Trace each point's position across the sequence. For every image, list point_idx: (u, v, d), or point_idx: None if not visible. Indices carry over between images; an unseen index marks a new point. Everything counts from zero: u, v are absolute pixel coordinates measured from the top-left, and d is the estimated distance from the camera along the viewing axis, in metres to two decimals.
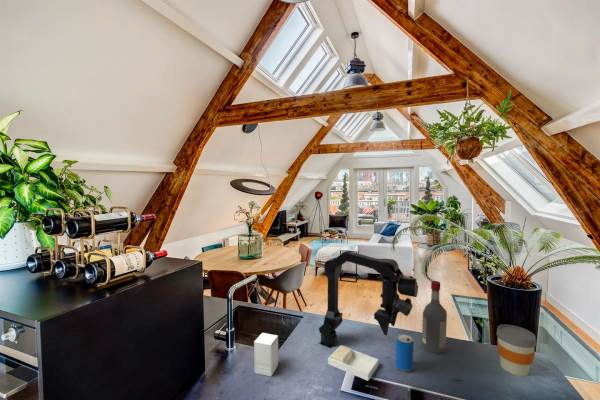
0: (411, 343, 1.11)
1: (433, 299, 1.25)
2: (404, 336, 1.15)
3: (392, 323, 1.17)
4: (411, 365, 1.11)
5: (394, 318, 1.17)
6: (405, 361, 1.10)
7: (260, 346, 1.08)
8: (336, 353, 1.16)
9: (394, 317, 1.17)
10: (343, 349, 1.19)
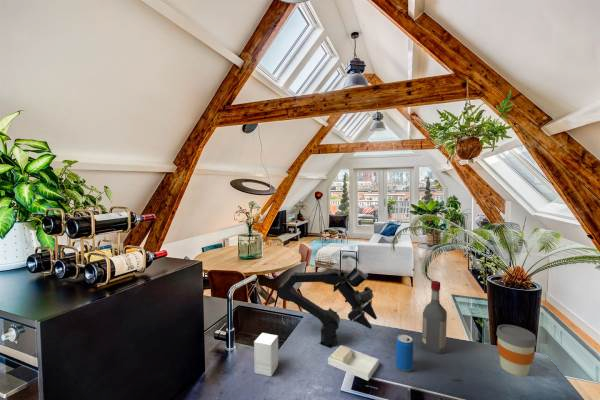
0: (411, 343, 1.11)
1: (433, 299, 1.25)
2: (404, 336, 1.15)
3: (374, 317, 1.26)
4: (411, 365, 1.11)
5: (372, 312, 1.26)
6: (405, 361, 1.10)
7: (260, 346, 1.08)
8: (336, 353, 1.16)
9: (371, 311, 1.26)
10: (343, 349, 1.19)
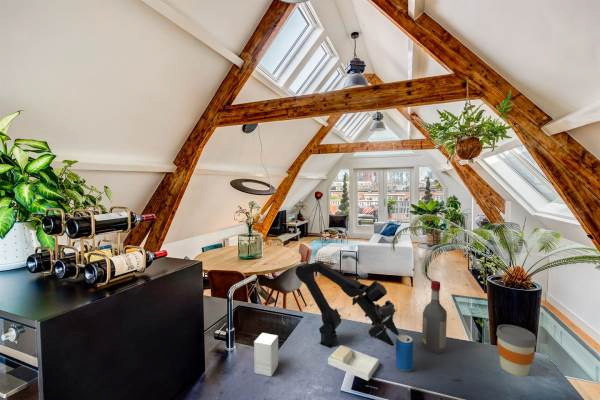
0: (411, 343, 1.11)
1: (433, 299, 1.25)
2: (404, 336, 1.15)
3: (396, 333, 1.19)
4: (411, 365, 1.11)
5: (393, 327, 1.19)
6: (405, 361, 1.10)
7: (260, 346, 1.08)
8: (336, 353, 1.16)
9: (393, 326, 1.20)
10: (343, 349, 1.19)
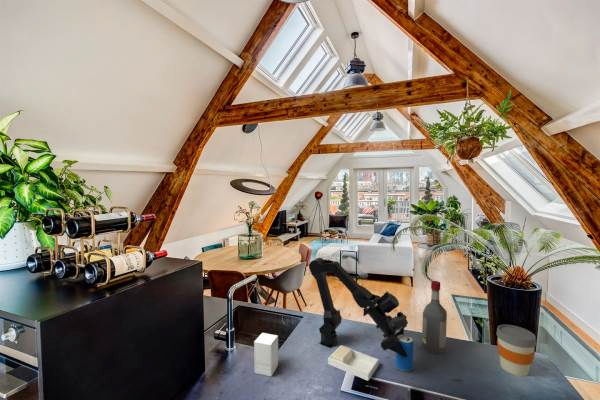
0: (411, 343, 1.11)
1: (433, 299, 1.25)
2: (404, 336, 1.15)
3: None
4: (411, 365, 1.11)
5: None
6: (405, 361, 1.10)
7: (260, 346, 1.08)
8: (336, 353, 1.16)
9: None
10: (343, 349, 1.19)
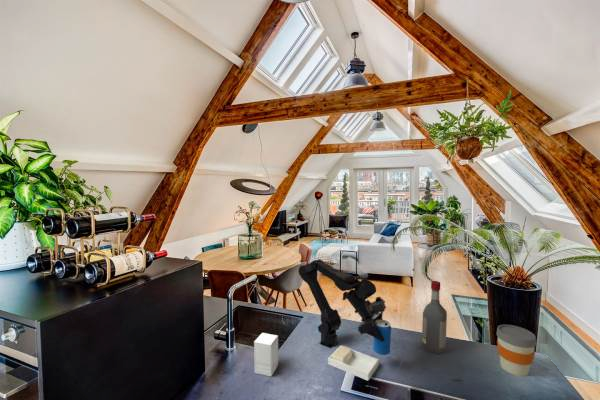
0: (389, 327, 1.10)
1: (433, 299, 1.25)
2: (382, 321, 1.14)
3: None
4: (388, 349, 1.11)
5: None
6: (382, 345, 1.10)
7: (260, 346, 1.08)
8: (336, 353, 1.16)
9: None
10: (343, 349, 1.19)
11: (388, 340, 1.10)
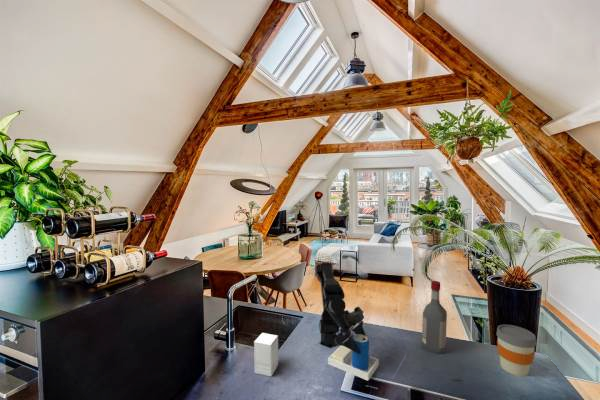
0: (366, 343, 1.10)
1: (433, 299, 1.25)
2: (361, 336, 1.14)
3: None
4: (366, 365, 1.10)
5: (363, 334, 1.16)
6: (360, 361, 1.09)
7: (260, 346, 1.08)
8: (336, 353, 1.16)
9: (362, 333, 1.16)
10: (343, 349, 1.19)
11: (366, 355, 1.10)
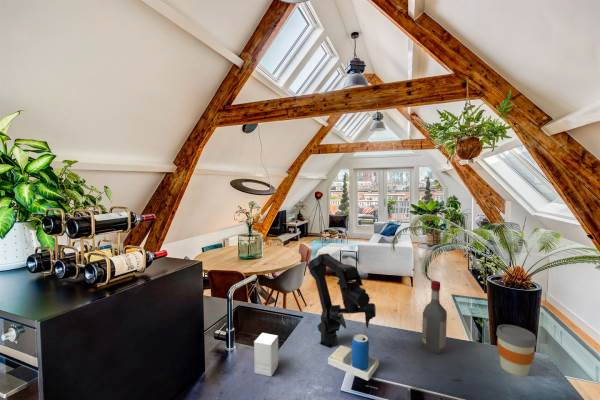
0: (366, 343, 1.10)
1: (433, 299, 1.25)
2: (361, 336, 1.14)
3: (345, 326, 1.22)
4: (366, 365, 1.10)
5: (344, 320, 1.22)
6: (360, 361, 1.09)
7: (260, 346, 1.08)
8: (336, 353, 1.16)
9: None
10: (343, 349, 1.19)
11: (366, 355, 1.10)
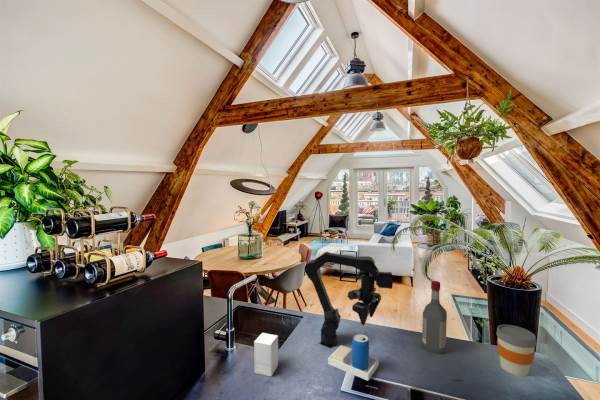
0: (366, 343, 1.10)
1: (433, 299, 1.25)
2: (361, 336, 1.14)
3: None
4: (366, 365, 1.10)
5: None
6: (360, 361, 1.09)
7: (260, 346, 1.08)
8: (336, 353, 1.16)
9: None
10: (343, 349, 1.19)
11: (366, 355, 1.10)
